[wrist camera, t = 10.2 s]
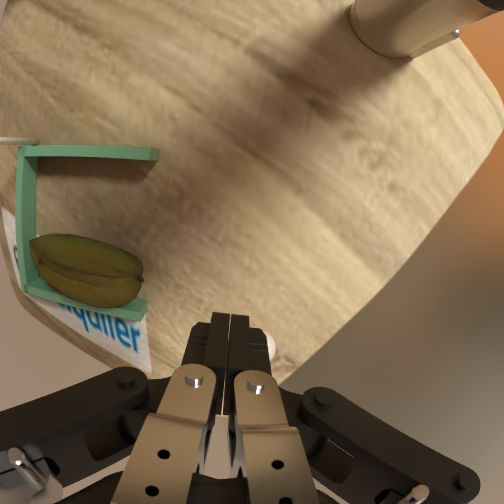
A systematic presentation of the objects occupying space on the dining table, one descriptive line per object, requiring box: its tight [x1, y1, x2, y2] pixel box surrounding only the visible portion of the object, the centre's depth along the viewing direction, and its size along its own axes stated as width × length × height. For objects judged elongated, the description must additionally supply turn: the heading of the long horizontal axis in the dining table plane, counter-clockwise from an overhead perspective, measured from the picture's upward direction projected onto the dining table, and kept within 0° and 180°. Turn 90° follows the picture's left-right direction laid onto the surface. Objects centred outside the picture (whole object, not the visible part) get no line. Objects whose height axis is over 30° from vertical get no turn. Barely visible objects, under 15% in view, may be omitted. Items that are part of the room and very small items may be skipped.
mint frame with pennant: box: [0, 137, 159, 322], centre depth 20 cm, size 18×19×20 cm
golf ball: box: [263, 331, 276, 361], centre depth 32 cm, size 4×4×4 cm
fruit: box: [29, 234, 144, 309], centre depth 27 cm, size 11×12×7 cm
